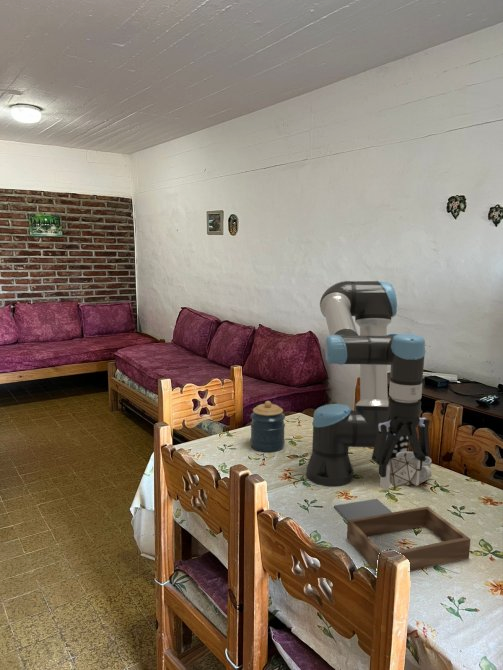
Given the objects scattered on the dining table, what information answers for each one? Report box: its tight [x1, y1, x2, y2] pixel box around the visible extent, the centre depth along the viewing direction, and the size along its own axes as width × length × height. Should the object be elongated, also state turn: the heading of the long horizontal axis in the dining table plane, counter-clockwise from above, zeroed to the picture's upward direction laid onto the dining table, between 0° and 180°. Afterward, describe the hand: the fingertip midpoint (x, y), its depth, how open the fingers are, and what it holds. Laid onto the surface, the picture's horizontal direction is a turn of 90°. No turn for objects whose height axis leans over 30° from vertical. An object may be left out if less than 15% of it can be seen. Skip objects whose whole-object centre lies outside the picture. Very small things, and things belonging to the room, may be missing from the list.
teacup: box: [396, 451, 432, 485], centre depth 156 cm, size 14×11×8 cm
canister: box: [250, 400, 286, 453], centre depth 184 cm, size 13×13×18 cm
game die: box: [388, 453, 420, 491], centre depth 122 cm, size 9×8×10 cm
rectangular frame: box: [346, 506, 471, 572], centre depth 121 cm, size 16×24×5 cm, turn 107°
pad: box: [333, 498, 394, 523], centre depth 137 cm, size 12×14×1 cm
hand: (399, 485), depth 123 cm, fingers closed on game die, 8 cm apart
